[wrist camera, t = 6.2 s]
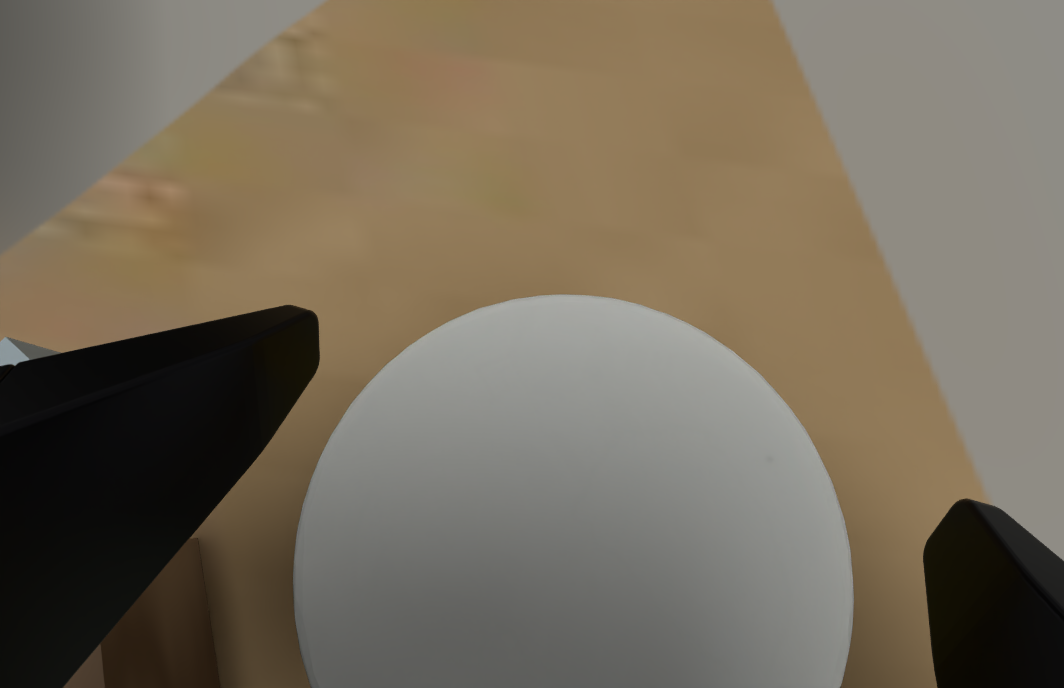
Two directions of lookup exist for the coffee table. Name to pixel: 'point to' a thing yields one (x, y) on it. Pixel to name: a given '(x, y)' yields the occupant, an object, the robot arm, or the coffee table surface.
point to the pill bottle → (571, 515)
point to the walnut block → (159, 635)
